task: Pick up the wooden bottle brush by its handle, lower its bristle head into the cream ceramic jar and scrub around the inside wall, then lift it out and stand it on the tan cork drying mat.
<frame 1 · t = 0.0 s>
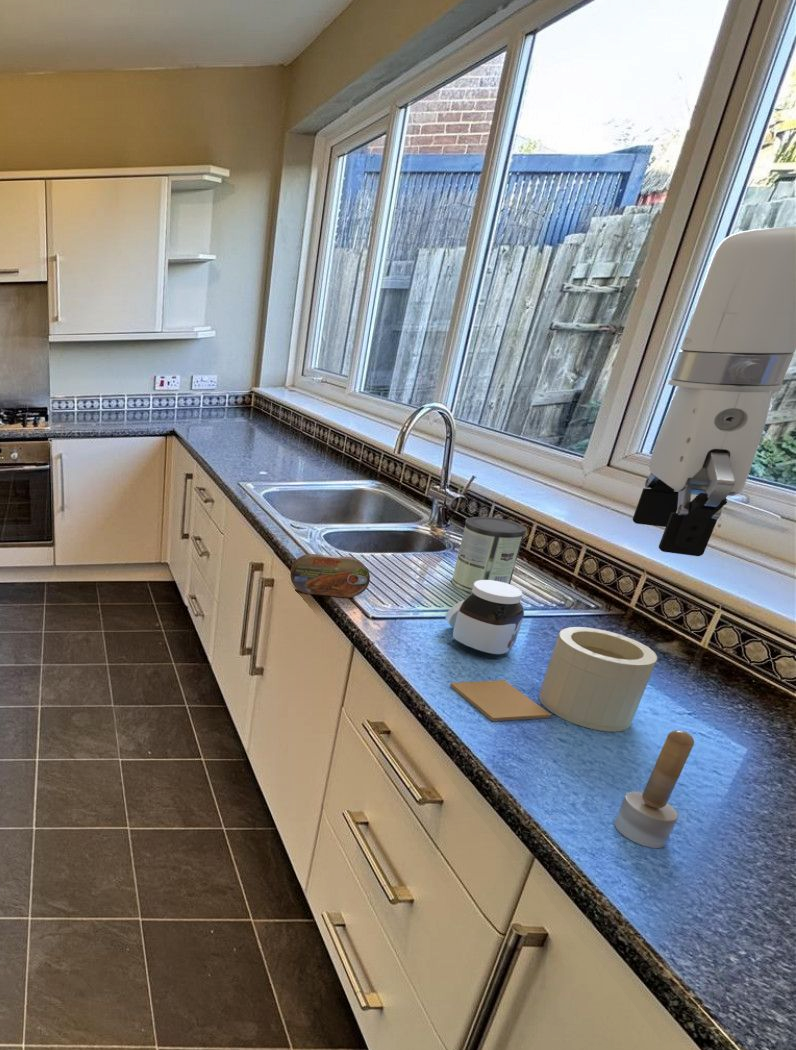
hand: (664, 537, 65), 33 cm above the countertop, tool pointing down, fingers open, 9 cm apart
tin: (325, 593, 130), on the countertop
mat: (497, 701, 94), on the countertop
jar: (583, 709, 92), on the countertop
brush: (639, 832, 70), on the countertop
coffee can: (478, 587, 132), on the countertop
spread jar: (473, 642, 110), on the countertop
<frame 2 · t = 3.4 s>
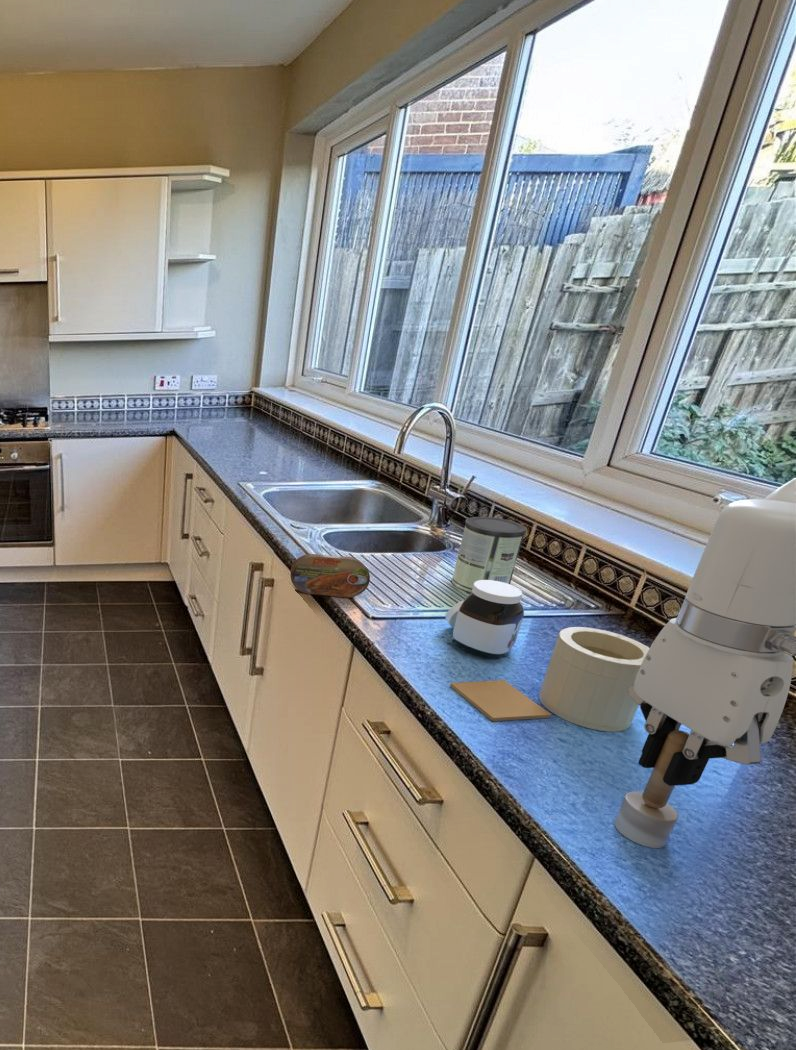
hand: (665, 773, 67), 9 cm above the countertop, tool pointing down, fingers closed on brush, 2 cm apart
brush: (639, 832, 70), on the countertop, touching gripper
everything else where it was.
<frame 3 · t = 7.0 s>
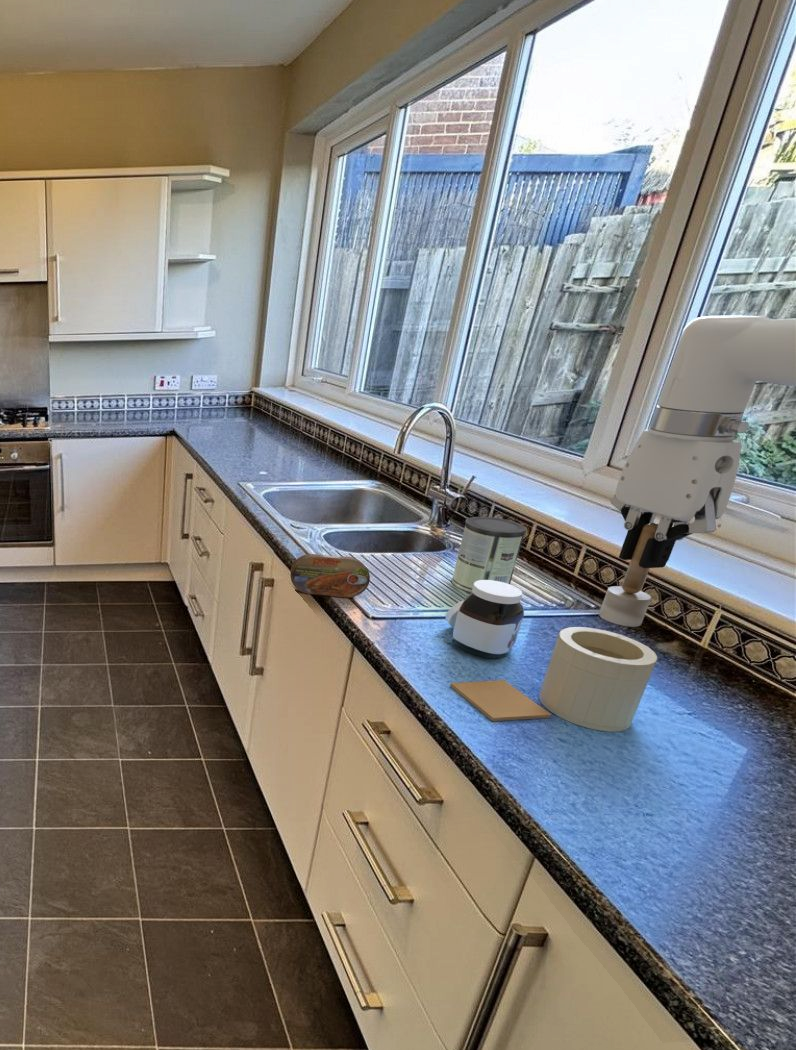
hand: (641, 561, 81), 24 cm above the countertop, tool pointing down, fingers closed on brush
brush: (619, 619, 85), point 16 cm above the countertop, touching gripper
everything else where it was.
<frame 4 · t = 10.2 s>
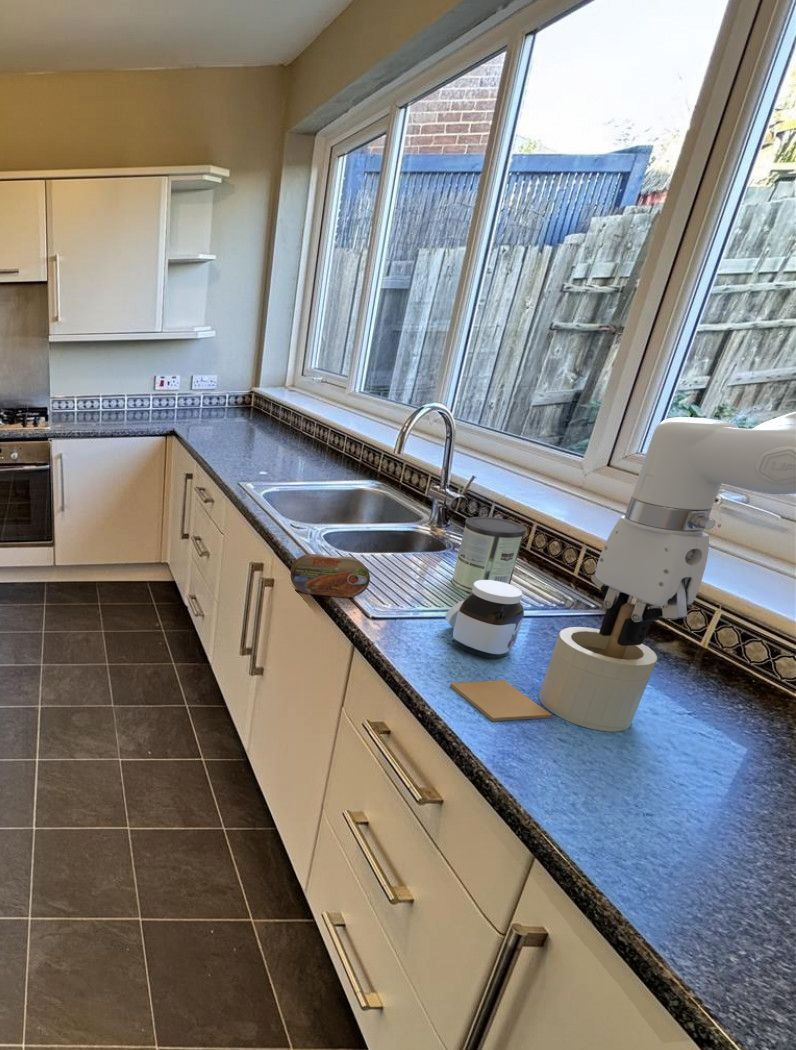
hand: (619, 638, 86), 12 cm above the countertop, tool pointing down, fingers closed on brush
brush: (600, 690, 89), point 4 cm above the countertop, touching gripper
everything else where it was.
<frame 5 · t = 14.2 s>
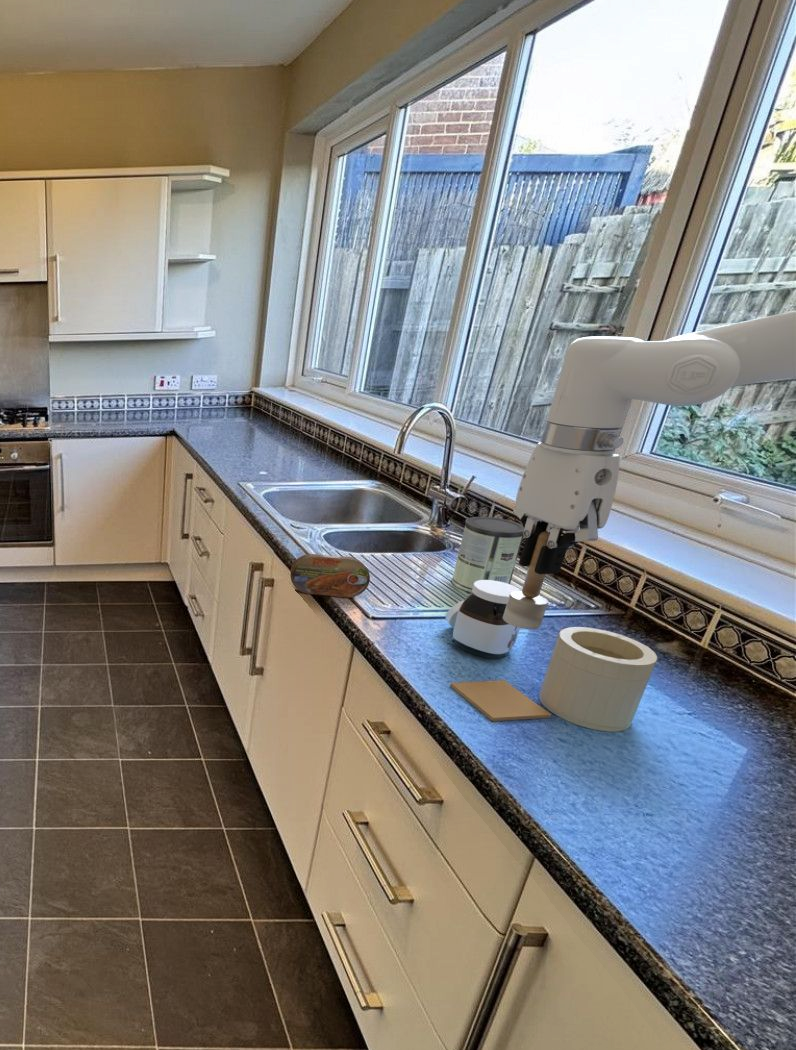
hand: (538, 568, 86), 22 cm above the countertop, tool pointing down, fingers closed on brush
brush: (521, 622, 89), point 14 cm above the countertop, touching gripper
everything else where it was.
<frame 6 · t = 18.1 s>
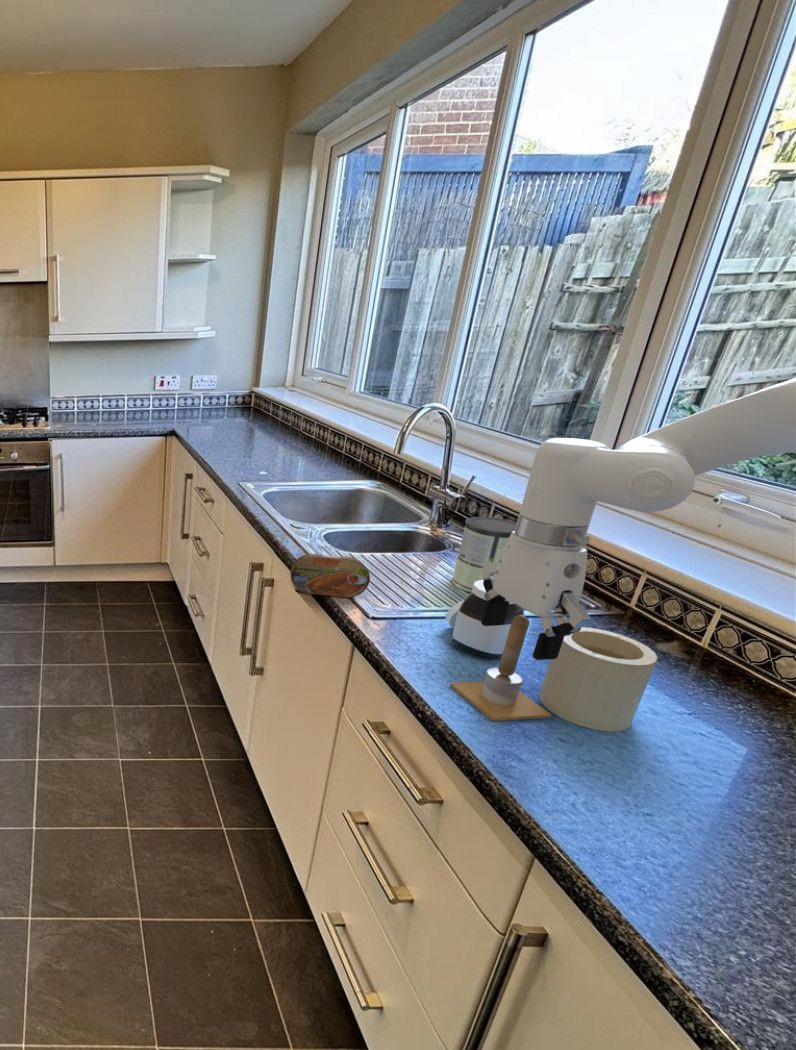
hand: (516, 640, 90), 11 cm above the countertop, tool pointing down, fingers open, 9 cm apart
brush: (497, 697, 94), point 1 cm above the countertop, touching mat
everything else where it was.
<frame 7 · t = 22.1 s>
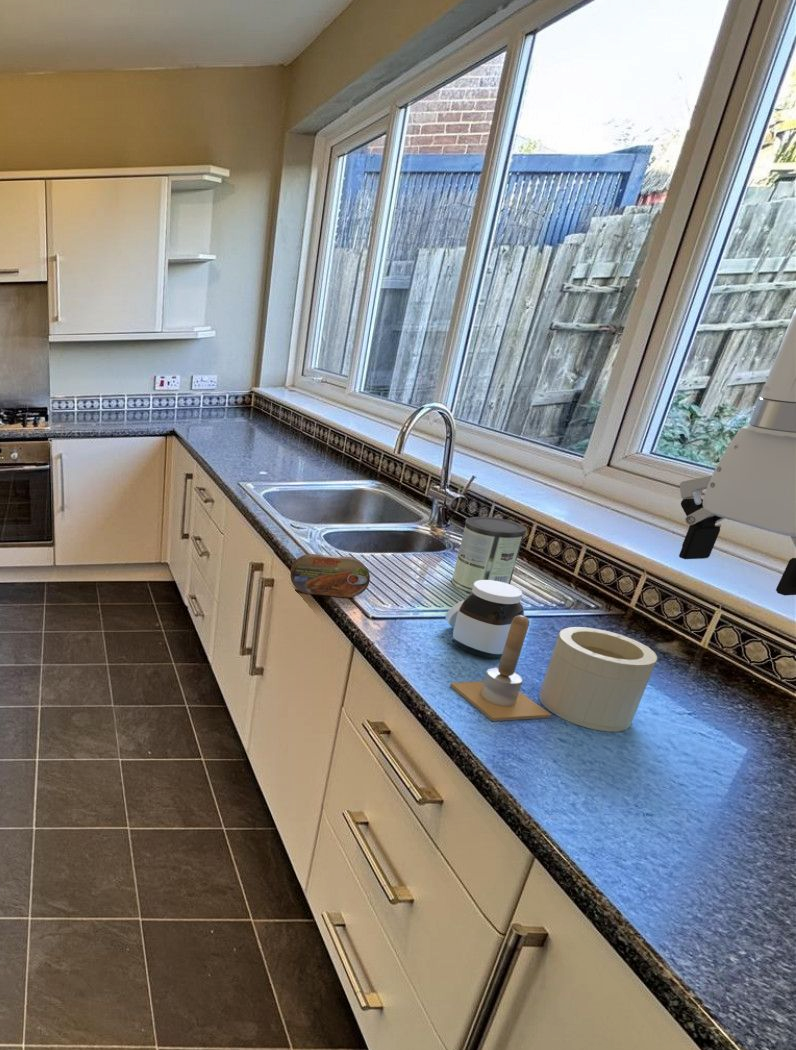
hand: (739, 574, 68), 28 cm above the countertop, tool pointing down, fingers open, 9 cm apart
nothing on the countertop moved.
at the end: brush inside the target area on the mat (0.1 cm from its centre), point 0.6 cm above the mat's base; brush tilted 0° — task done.
